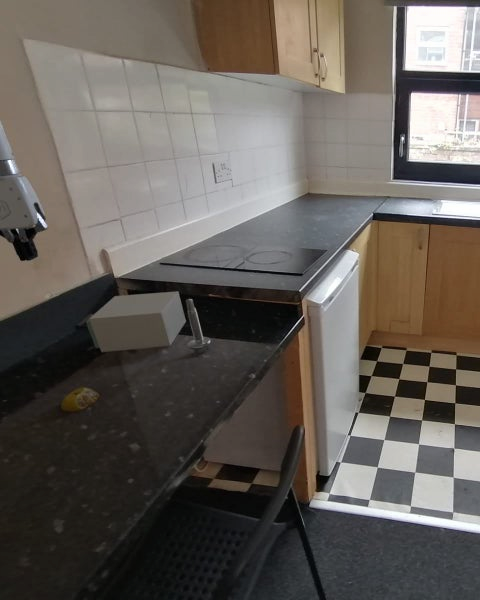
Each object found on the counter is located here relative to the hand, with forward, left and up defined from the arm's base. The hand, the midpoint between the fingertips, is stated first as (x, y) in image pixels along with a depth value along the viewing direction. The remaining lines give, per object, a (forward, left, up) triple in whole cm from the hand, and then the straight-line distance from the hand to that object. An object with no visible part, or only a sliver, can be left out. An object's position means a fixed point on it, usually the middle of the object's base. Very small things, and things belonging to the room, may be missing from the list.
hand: (29, 258), depth 87 cm
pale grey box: (+18, 0, -21) cm, 28 cm away
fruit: (+19, -28, -21) cm, 40 cm away
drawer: (+14, 0, -20) cm, 25 cm away
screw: (+33, -10, -21) cm, 41 cm away
